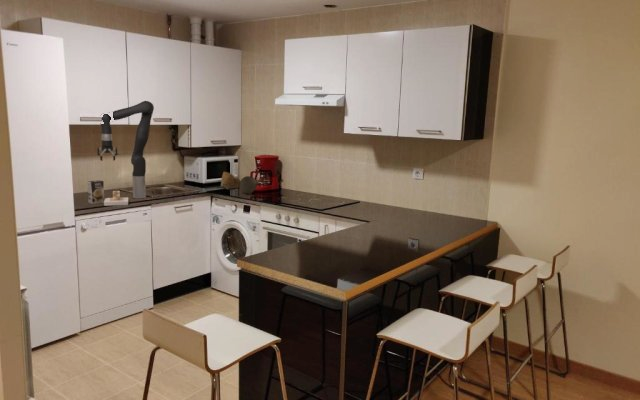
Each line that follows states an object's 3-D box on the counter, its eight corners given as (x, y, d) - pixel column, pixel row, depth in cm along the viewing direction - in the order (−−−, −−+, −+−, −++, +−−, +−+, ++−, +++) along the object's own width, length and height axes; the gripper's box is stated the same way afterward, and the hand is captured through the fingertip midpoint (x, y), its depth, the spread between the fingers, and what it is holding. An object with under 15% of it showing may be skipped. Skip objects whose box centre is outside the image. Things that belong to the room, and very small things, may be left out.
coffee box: (92, 204, 351) (91, 182, 348) (88, 202, 354) (87, 181, 351) (104, 202, 358) (103, 180, 355) (100, 201, 362) (99, 179, 359)
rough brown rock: (241, 191, 431) (242, 174, 429) (222, 189, 426) (223, 172, 424) (237, 187, 453) (239, 171, 451) (219, 186, 448) (221, 170, 446)
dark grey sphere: (248, 195, 405) (249, 178, 402) (236, 193, 412) (236, 176, 410) (259, 193, 417) (259, 176, 414) (247, 191, 424) (247, 174, 421)
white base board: (128, 200, 367) (128, 197, 367) (128, 204, 353) (127, 201, 352) (105, 201, 362) (105, 197, 361) (104, 205, 347) (103, 201, 347)
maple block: (119, 198, 360) (119, 190, 359) (119, 199, 356) (119, 191, 354) (113, 199, 358) (113, 191, 357) (113, 200, 354) (112, 192, 353)
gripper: (117, 139, 379) (118, 160, 382) (97, 139, 374) (98, 160, 377) (116, 140, 372) (117, 161, 375) (96, 140, 367) (97, 161, 370)
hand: (107, 160), depth 376 cm, fingers open, 8 cm apart
